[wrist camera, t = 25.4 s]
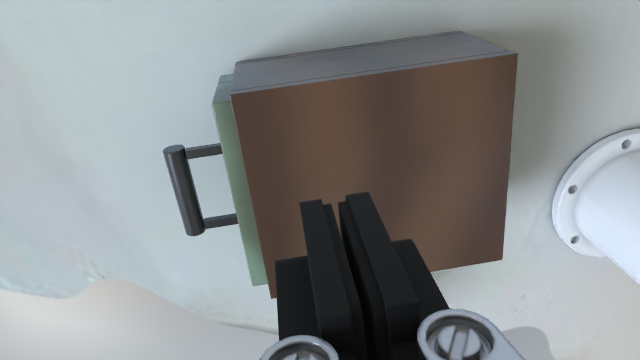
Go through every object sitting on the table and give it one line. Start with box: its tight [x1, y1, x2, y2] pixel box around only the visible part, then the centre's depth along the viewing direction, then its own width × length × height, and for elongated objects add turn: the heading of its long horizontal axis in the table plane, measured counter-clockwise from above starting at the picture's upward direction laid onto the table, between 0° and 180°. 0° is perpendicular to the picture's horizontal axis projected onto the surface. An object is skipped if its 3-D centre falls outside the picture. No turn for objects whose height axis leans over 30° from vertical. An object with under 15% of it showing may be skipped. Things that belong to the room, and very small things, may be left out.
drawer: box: [163, 74, 268, 286], centre depth 33 cm, size 20×13×7 cm
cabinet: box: [230, 31, 518, 299], centre depth 34 cm, size 17×15×9 cm
